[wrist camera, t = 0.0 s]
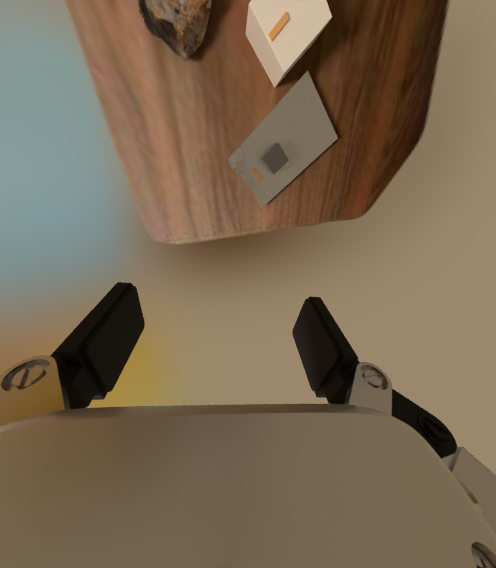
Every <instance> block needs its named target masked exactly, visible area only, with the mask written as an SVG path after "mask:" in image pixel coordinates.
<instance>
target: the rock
mask: <svg viewBox="0 0 496 568" xmlns="http://www.w3.org/2000/svg"><path fill="white" fill-rule="evenodd" d="M211 3H212V0H138V1H137V4H138V7H139V11H140V14H141V15H142V16H143V18H144V22H145V25H146V27H147V28H148V30H149V31H150V32H151V34H152V35H153V36H155V37H156V38H157V39H158V40H160V41H163V42H164V43H165V44H166V45H167V46H168V47H169V48H170V49H171V50H172V51H173V52H174V53H176V54H177V55H178V56H179V57H180V58H181V59H183V60H186V61H187V60H188V59H189V56H190V55H191V54H192V53H194V52H195V51H196V49H197V48H198V47H199V46H200V45H201V44H202V42H203V38H204V35H205V32H206V29H207V25H208V19H209V16H210V9H211Z"/></svg>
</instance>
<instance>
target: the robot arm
mask: <svg viewBox="0 0 496 568" xmlns="http://www.w3.org/2000/svg"><path fill="white" fill-rule="evenodd" d="M143 329H144V318H143V314H142V310H141V306H140V302H139V297H138V293H137V289H136V287H135V286H133V285H132V284H131V283H121V282H118V283H117V284H116V285H115V286H114V287H113V288H112V289H111V290H110V291H109V292H108V293H107V295H106V296H105V297H104V298H103V299H102V300H101V301H100V302H99V303H98V304H97V306H96V307H95V308H94V309H93V310H92V311H91V312H90V313H89V314H88V315H87V316H86V317H85V318H84V319H83V321H82V322H81V323H80V324H79V325H78V326H77V327H76V328H75V329H74V330H73V332H72V333H71V334H70V335H69V336H68V337H67V338H66V339H65V340H64V341H63V343H62V344H61V345H60V346H59V347H58V348H57V349H56V350H55V351H54V352H53V354H52V355H51V356H45V355H41V356H34V357H31V358H28V359H25V360H23V361H21V362H19V363H17V364H15V365H13V366H12V367H10V368H9V369H7V370H6V371H5V372H4V373H3V374H1V375H0V568H496V475H495V474H494V473H492V472H491V471H490V470H489V469H488V468H487V467H485V466H484V465H483V464H482V463H481V462H480V461H479V460H477V459H476V458H475V457H474V456H473V455H472V454H470V453H469V452H468V451H467V450H466V449H465V448H464V447H460V448H459V447H458V446H457V445H456V441H455V439H454V437H453V435H452V434H451V432H450V431H449V430H448V428H447V427H446V426H445V425H444V424H443V423H442V422H441V421H440V420H439V419H437V418H436V417H435V416H433V415H432V414H430V413H429V412H427V411H426V410H424V409H423V408H421V407H419V406H418V405H416V404H415V403H413V402H412V401H410V400H409V399H407V398H405V397H404V396H403V395H401V394H399V393H398V392H396V391H395V390H393V389H392V384H391V381H390V379H389V378H388V376H387V375H386V374H385V373H384V372H383V371H382V370H381V369H380V368H378V367H377V366H375V365H373V364H371V363H367V362H361V363H359V361H358V357H357V355H356V354H355V352H354V350H353V349H352V347H351V346H350V344H349V342H348V341H347V339H346V338H345V336H344V335H343V333H342V331H341V330H340V328H339V327H338V325H337V323H336V322H335V320H334V319H333V317H332V315H331V314H330V312H329V311H328V309H327V308H326V306H325V304H324V303H323V301H322V300H321V298H320V297H309V298H308V299H306V300H305V302H304V304H303V307H302V309H301V311H300V314H299V316H298V319H297V321H296V323H295V326H294V328H293V337H294V340H295V343H296V346H297V349H298V352H299V354H300V357H301V360H302V363H303V366H304V369H305V372H306V375H307V378H308V380H309V384H310V386H311V389H312V390H313V391H315V394H316V397H326V398H327V400H328V404H250V405H249V404H246V405H182V406H132V407H105V408H88V407H87V406H89V404H90V402H91V401H92V400H93V399H94V400H95V399H96V400H97V399H98V400H99V399H104V398H105V396H106V394H107V392H110V391H111V390H112V389H113V388H114V386H115V384H116V382H117V380H118V378H119V376H120V374H121V372H122V370H123V368H124V366H125V364H126V362H127V360H128V359H129V357H130V355H131V352H132V350H133V349H134V347H135V345H136V343H137V341H138V339H139V337H140V335H141V333H142V331H143Z"/></svg>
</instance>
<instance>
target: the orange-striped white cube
mask: <svg viewBox="0 0 496 568" xmlns="http://www.w3.org/2000/svg"><path fill="white" fill-rule="evenodd" d="M331 18H332V15H331V12H330V9H329V6H328V4H327V1H326V0H251V2H250V3H249V8H248V17H247V26H246V36H247V38H248V40H249V42H250V43H251V45H252V47H253V49H254V51H255V53H256V55H257V56H258V58H259V60H260V62H261V64H262V66H263V67H264V69H265V71H266V73H267V75H268V77H269V78H270V80H271V82H272V84H273V86H274V88H275V87H276V86H277V85H278V84H279V83H280V81H281V80H282V79H283V78H284V77H285V76H286V74H287V73H288V72H289V71H290V70H291V69H292V67H293V66H294V65H295V64H296V63H297V62H298V60H299V59H300V58H301V57H302V56H303V55H304V53H305V52H306V51H307V50H308V49H309V48H310V46H311V45H312V44H313V43H314V41H315V40H316V39H317V37H318V36H319V34H320V33H321V32H322V30H323V29H324V28H325V26H326V25H327V23H328V22H329V21H330V19H331Z"/></svg>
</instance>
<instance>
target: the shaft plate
mask: <svg viewBox="0 0 496 568" xmlns="http://www.w3.org/2000/svg"><path fill="white" fill-rule="evenodd" d="M337 139H338V137H337V135H336V133H335V131H334V128H333V126H332V124H331V122H330V119H329V117H328V115H327V113H326V110H325V108H324V106H323V104H322V101H321V99H320V97H319V95H318V92H317V90H316V88H315V86H314V83H313V81H312V79H311V77H310V75H309V72H308V71H307V72H306V73H305V74H304V75H303V76H302V77H301V78H300V80H299V81H298V82H297V83H296V84H295V85H294V86H293V87H292V88H291V90H290V91H289V92H288V93H287V94H286V95H285V96H284V97H283V99H282V100H281V101H280V102H279V103H278V104H277V105H276V106H275V108H274V109H273V110H272V111H271V112H270V113H269V114H268V115H267V116H266V118H265V119H264V120H263V121H262V122H261V123H260V124H259V125H258V127H257V128H256V129H255V130H254V131H253V132H252V133H251V134H250V136H249V137H248V138H247V139H246V140H245V141H244V142H243V143H242V145H241V146H240V147H239V148H238V149H237V150H236V151H235V152H234V153H233V155H232V156H231V157H230V158H229V159H228V160H227V161H228V162H229V163H230V165H231V166H232V167H233V168H234V170H235V171H236V172H237V174H238V175H239V176H240V177H241V179H242V180H243V181H244V182H245V184H246V185H247V186H248V187H249V189H250V190H251V191H252V193H253V194H254V195H255V196H256V198H257V199H258V200H259V201H260V203H261V204H262V205H263V207H264V206H265V205H266V204H267V203H268V202H269V201H270V200H271V199H272V198H273V197H275V196H276V195H277V194H278V193H279V192H280V191H281V190H282V189H283V188H284V187H285V186H287V185H288V184H289V183H290V182H291V181H292V180H293V179H294V178H295V177H296V176H297V175H299V174H300V173H301V172H302V171H303V170H304V169H305V168H306V167H307V166H308V165H309V164H310V163H312V162H313V161H314V160H315V159H316V158H317V157H318V156H319V155H320V154H321V153H322V152H324V151H325V150H326V149H327V148H328V147H329V146H330V145H331V144H332V143H333V142H334V141H336V140H337Z"/></svg>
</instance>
